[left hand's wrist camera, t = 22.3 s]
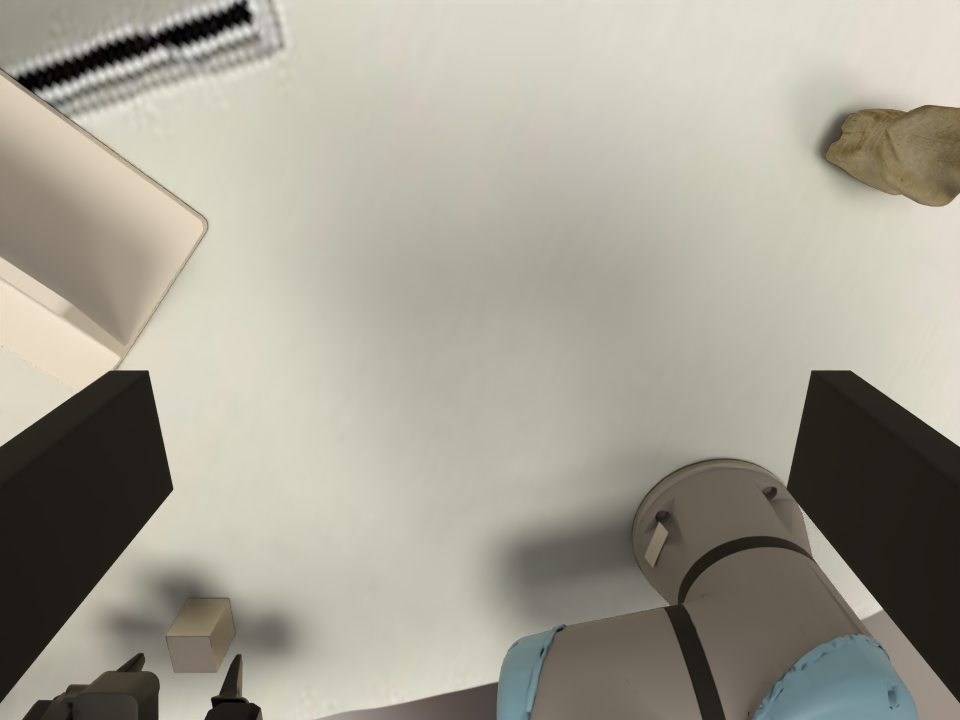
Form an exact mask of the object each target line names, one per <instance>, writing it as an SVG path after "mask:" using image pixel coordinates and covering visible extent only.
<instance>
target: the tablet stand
mask: <svg viewBox="0 0 960 720" xmlns="http://www.w3.org/2000/svg"><path fill="white" fill-rule="evenodd" d="M207 228H208V225H207V222H206V220H205V219H204V217H202V216H201V215H200V214H198V213H197V212H196V211H194V210H193V209H191V208H190V207H189V206H187V205H186V204H185V203H183V202H182V201H180V200H179V199H178V198H176V197H175V196H174V195H172V194H171V193H169V192H168V191H167V190H165V189H164V188H163V187H161V186H160V185H158V184H157V183H156V182H154V181H153V180H152V179H150V178H149V177H147V176H146V175H145V174H143V173H142V172H141V171H139V170H138V169H136V168H135V167H134V166H132V165H131V164H130V163H128V162H127V161H125V160H124V159H123V158H121V157H120V156H119V155H117V154H116V153H114V152H113V151H112V150H110V149H109V148H108V147H106V146H105V145H103V144H102V143H101V142H99V141H98V140H97V139H95V138H94V137H92V136H91V135H90V134H88V133H87V132H86V131H84V130H83V129H81V128H80V127H79V126H77V125H76V124H75V123H73V122H72V121H70V120H69V119H68V118H66V117H65V116H64V115H62V114H61V113H59V112H58V111H57V110H55V109H54V108H53V107H51V106H50V105H48V104H47V103H46V102H44V101H43V100H42V99H40V98H39V97H38V96H36V95H35V94H33V93H32V92H31V91H29V90H28V89H27V88H25V87H24V86H22V85H21V84H20V83H18V82H17V81H16V80H14V79H13V78H11V77H10V76H9V75H7V74H6V73H5V72H3V71H2V70H0V346H2V347H4V348H5V349H7V350H8V351H10V352H12V353H13V354H15V355H16V356H18V357H20V358H21V359H23V360H24V361H26V362H28V363H29V364H31V365H33V366H34V367H36V368H37V369H39V370H41V371H42V372H44V373H45V374H47V375H49V376H50V377H52V378H53V379H55V380H57V381H58V382H60V383H62V384H63V385H65V386H66V387H68V388H70V389H71V390H73V391H74V392H76V393H78V392H80V391H81V390H83V389H84V388H85V387H87V386H88V385H90V384H91V383H93V382H94V381H95V380H97V379H98V378H100V377H101V376H103V375H104V374H105V373H107V372H108V371H114V370H115V368H116V367H117V366H118V365H119V364H120V362H121V361H122V360H123V359H124V357H125V356H126V354H127V353H128V351H129V350H130V348H131V347H132V345H133V344H134V342H135V340H136V339H137V337H138V336H139V334H140V333H141V331H142V330H143V328H144V327H145V325H146V323H147V322H148V320H149V319H150V317H151V316H152V314H153V313H154V311H155V310H156V308H157V307H158V305H159V303H160V302H161V300H162V299H163V297H164V296H165V294H166V293H167V291H168V290H169V288H170V286H171V285H172V283H173V282H174V280H175V279H176V277H177V276H178V274H179V273H180V271H181V270H182V268H183V266H184V265H185V263H186V262H187V260H188V259H189V257H190V256H191V254H192V253H193V251H194V250H195V248H196V246H197V245H198V243H199V242H200V240H201V239H202V237H203V236H204V234H205V233H206V231H207Z"/></svg>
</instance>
